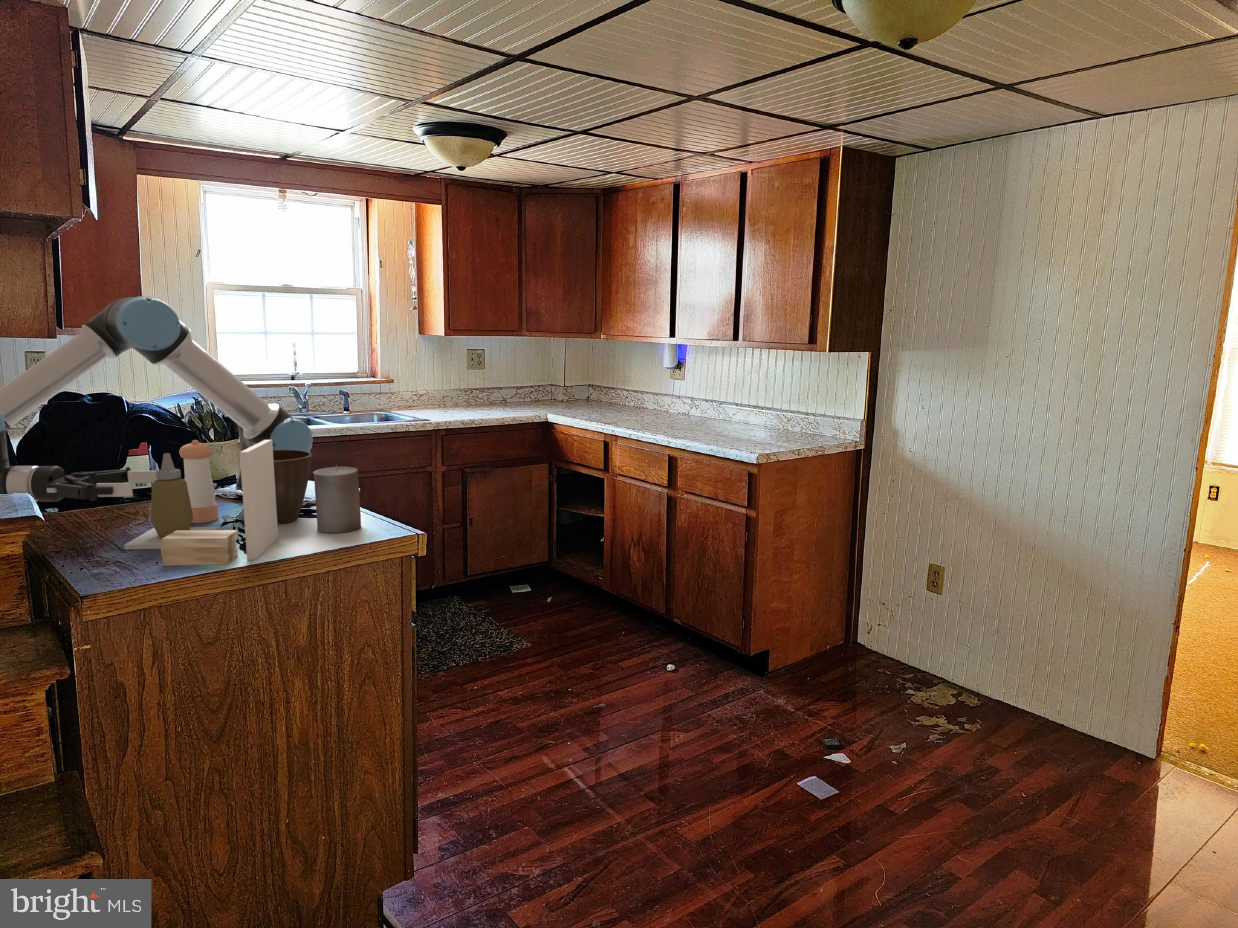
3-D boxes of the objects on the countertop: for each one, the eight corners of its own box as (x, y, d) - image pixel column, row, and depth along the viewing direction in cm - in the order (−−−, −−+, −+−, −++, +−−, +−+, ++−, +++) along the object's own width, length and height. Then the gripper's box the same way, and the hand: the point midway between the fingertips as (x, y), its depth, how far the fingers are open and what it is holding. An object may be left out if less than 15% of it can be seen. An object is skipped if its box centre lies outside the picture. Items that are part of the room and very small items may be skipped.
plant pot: (325, 514, 201) (322, 450, 198) (296, 529, 187) (292, 461, 184) (268, 511, 203) (264, 448, 200) (234, 527, 188) (229, 459, 185)
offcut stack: (175, 556, 165) (173, 530, 164) (240, 555, 167) (238, 529, 166) (161, 565, 159) (158, 539, 158) (228, 564, 160) (226, 538, 159)
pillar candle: (356, 521, 195) (353, 459, 192) (365, 530, 187) (361, 466, 184) (314, 526, 191) (309, 463, 188) (320, 535, 182) (316, 470, 179)
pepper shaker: (219, 514, 199) (213, 437, 196) (216, 521, 192) (210, 442, 189) (186, 517, 196) (179, 438, 193) (182, 524, 190) (175, 443, 186)
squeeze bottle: (146, 535, 177) (139, 453, 173) (185, 528, 183) (179, 449, 179) (160, 542, 171) (153, 458, 168) (200, 535, 177) (194, 453, 174)
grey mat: (154, 531, 183) (154, 527, 183) (219, 530, 185) (219, 526, 184) (124, 549, 169) (124, 544, 169) (195, 548, 171) (195, 543, 171)
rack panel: (271, 538, 179) (264, 439, 175) (278, 538, 180) (272, 439, 176) (247, 559, 164) (239, 452, 160) (254, 559, 164) (247, 452, 160)
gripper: (72, 488, 184) (172, 488, 187) (4, 515, 160) (120, 514, 162) (69, 456, 183) (169, 455, 185) (0, 477, 158) (116, 477, 161)
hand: (146, 483), depth 174 cm, fingers open, 13 cm apart
